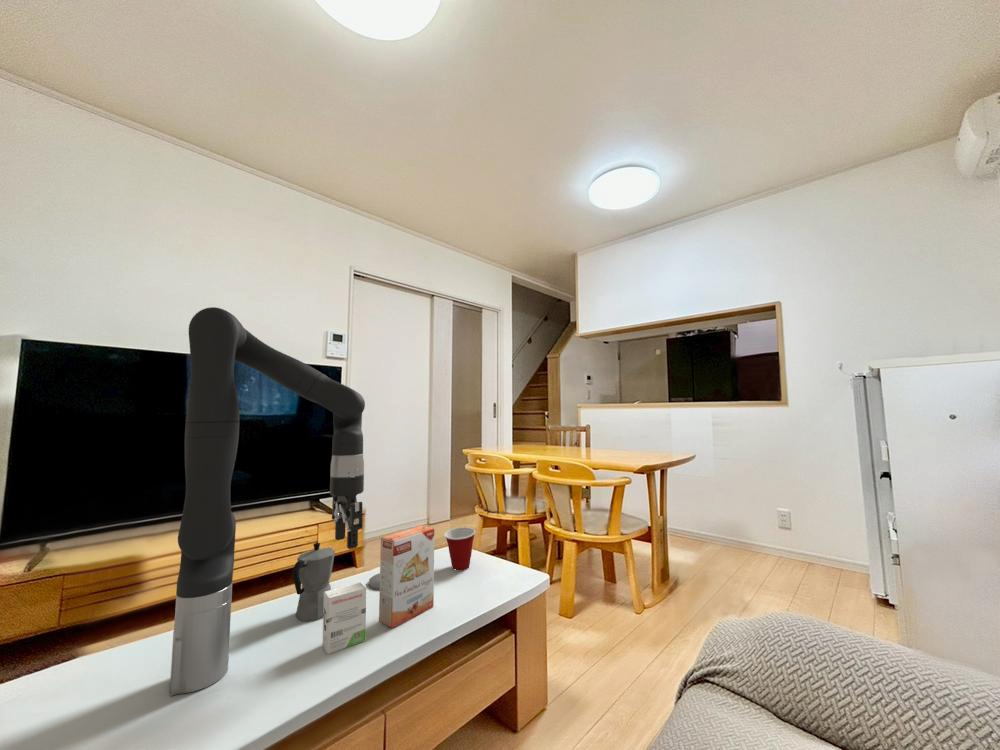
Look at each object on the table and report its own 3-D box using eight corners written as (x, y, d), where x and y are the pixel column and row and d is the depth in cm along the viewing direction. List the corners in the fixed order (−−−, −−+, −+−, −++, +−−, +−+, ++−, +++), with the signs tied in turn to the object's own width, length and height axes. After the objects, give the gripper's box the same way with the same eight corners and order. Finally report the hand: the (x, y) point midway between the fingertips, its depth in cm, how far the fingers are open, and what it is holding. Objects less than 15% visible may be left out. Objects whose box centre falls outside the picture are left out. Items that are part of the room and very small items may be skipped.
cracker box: (393, 630, 94) (393, 540, 97) (378, 622, 98) (379, 536, 100) (435, 607, 105) (435, 527, 108) (420, 601, 109) (420, 524, 111)
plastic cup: (437, 568, 132) (437, 532, 133) (460, 559, 140) (460, 525, 141) (459, 576, 125) (459, 538, 126) (482, 566, 133) (482, 530, 134)
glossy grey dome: (378, 593, 114) (378, 590, 114) (363, 581, 123) (363, 577, 123) (415, 582, 122) (415, 578, 122) (398, 571, 131) (398, 567, 131)
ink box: (359, 632, 94) (360, 580, 95) (366, 641, 90) (366, 587, 91) (321, 644, 89) (323, 590, 90) (326, 655, 85) (327, 598, 86)
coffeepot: (315, 600, 111) (317, 534, 113) (345, 602, 109) (346, 536, 111) (274, 629, 96) (277, 553, 98) (308, 632, 94) (310, 555, 96)
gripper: (322, 472, 96) (320, 540, 95) (341, 478, 86) (339, 555, 84) (352, 469, 101) (351, 533, 99) (374, 474, 90) (373, 547, 89)
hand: (346, 543), depth 92 cm, fingers open, 8 cm apart
